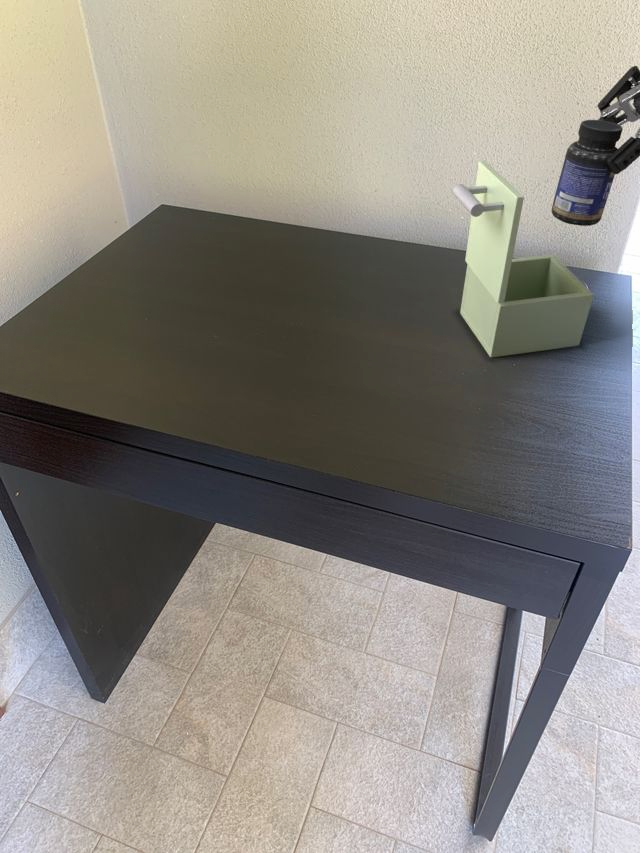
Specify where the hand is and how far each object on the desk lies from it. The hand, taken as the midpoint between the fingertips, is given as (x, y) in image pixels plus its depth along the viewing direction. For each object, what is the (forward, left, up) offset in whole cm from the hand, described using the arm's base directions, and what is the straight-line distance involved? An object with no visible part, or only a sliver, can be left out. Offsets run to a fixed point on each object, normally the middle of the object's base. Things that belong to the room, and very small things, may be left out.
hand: (596, 158), depth 81 cm
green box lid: (+8, +8, -8) cm, 14 cm away
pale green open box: (+4, +4, -23) cm, 24 cm away
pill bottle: (+1, +1, -7) cm, 8 cm away
